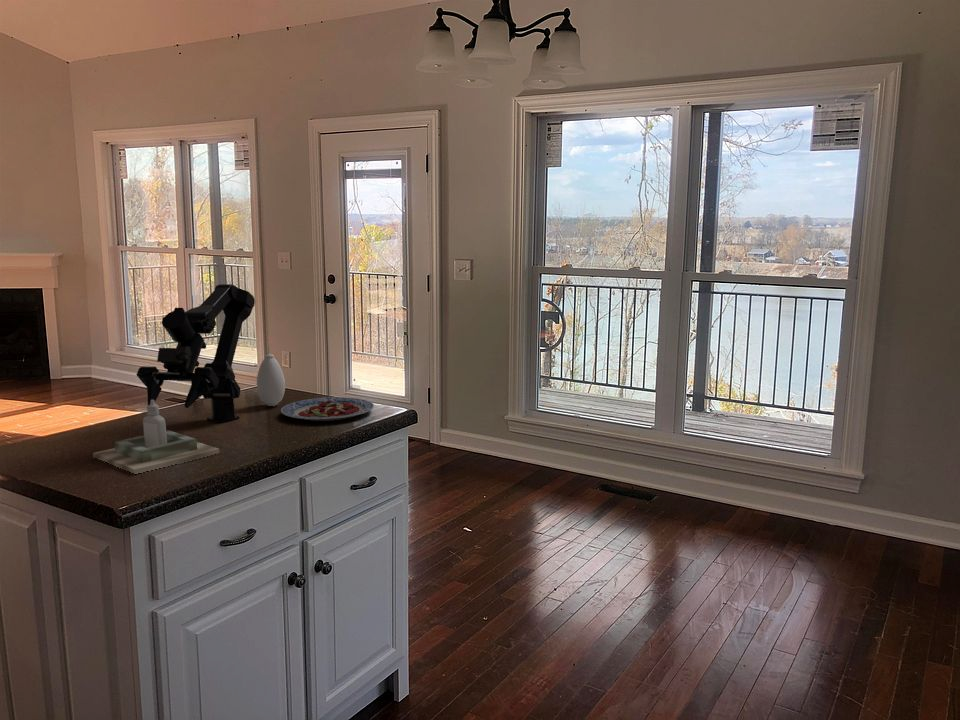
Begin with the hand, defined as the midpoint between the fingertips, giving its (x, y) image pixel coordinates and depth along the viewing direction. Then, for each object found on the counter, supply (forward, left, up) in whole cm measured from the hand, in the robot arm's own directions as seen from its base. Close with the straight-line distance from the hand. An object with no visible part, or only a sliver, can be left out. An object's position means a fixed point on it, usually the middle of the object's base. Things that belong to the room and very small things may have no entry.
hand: (167, 406), depth 182 cm
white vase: (-18, +42, -10) cm, 47 cm away
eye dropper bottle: (+3, -5, -9) cm, 11 cm away
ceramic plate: (+3, +46, -11) cm, 47 cm away
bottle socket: (+4, -5, -10) cm, 12 cm away
